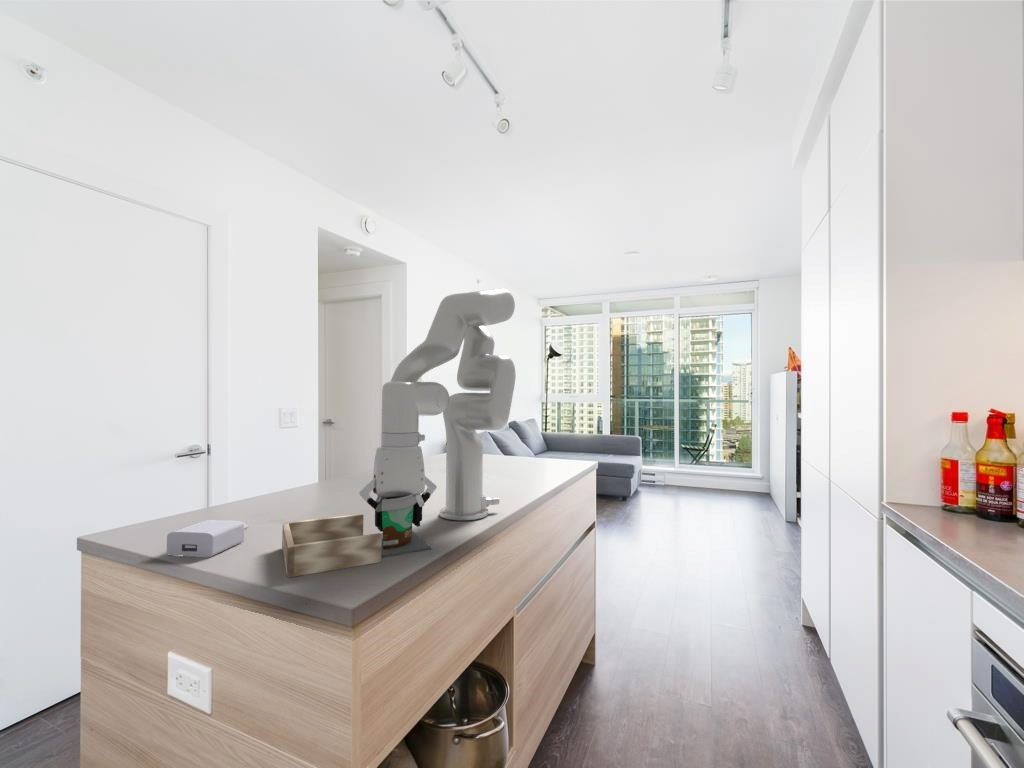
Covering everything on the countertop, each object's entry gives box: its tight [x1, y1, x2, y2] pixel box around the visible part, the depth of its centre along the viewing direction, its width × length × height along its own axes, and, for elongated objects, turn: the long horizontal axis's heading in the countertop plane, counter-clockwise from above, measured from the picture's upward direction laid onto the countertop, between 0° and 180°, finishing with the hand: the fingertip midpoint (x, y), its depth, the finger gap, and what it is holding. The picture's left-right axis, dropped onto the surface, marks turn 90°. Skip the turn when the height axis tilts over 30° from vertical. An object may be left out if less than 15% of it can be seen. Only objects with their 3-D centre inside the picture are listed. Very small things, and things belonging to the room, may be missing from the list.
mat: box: [380, 530, 432, 558], centre depth 94 cm, size 10×14×1 cm
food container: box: [382, 493, 417, 549], centre depth 94 cm, size 12×6×10 cm, turn 7°
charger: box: [166, 519, 249, 558], centre depth 93 cm, size 5×9×15 cm
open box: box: [281, 513, 382, 578], centre depth 87 cm, size 16×17×5 cm
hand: (398, 526), depth 94 cm, fingers closed on food container, 6 cm apart
